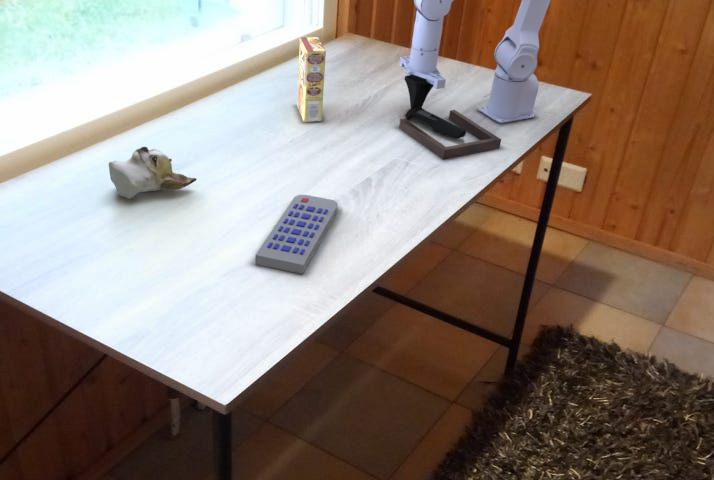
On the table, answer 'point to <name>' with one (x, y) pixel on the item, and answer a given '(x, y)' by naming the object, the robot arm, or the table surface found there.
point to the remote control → (297, 234)
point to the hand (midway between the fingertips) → (416, 109)
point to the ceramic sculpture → (146, 173)
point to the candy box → (311, 78)
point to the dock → (485, 144)
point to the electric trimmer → (435, 122)
